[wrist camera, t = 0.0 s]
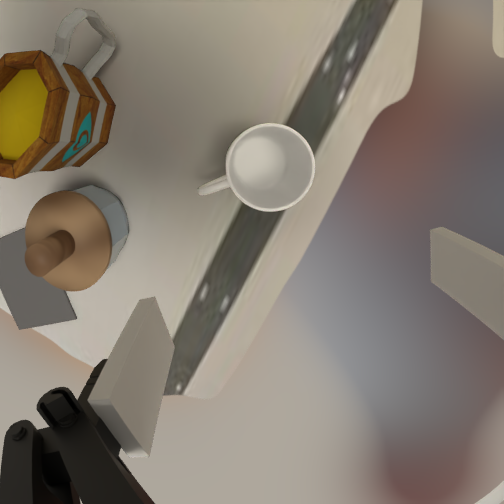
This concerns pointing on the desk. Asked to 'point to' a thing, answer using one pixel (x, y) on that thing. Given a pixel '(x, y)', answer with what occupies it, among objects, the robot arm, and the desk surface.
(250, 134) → the mug
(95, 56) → the mug
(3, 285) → the mat
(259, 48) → the desk surface
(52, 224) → the lid
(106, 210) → the bowl
